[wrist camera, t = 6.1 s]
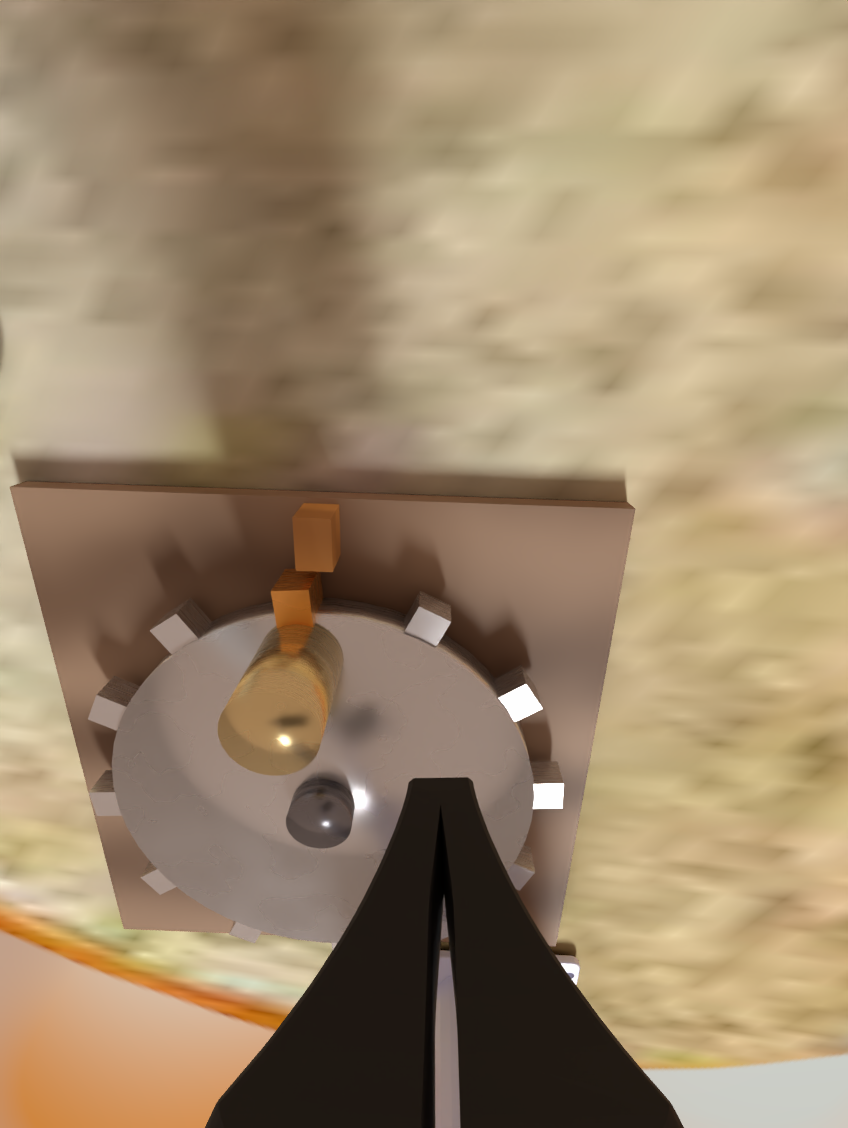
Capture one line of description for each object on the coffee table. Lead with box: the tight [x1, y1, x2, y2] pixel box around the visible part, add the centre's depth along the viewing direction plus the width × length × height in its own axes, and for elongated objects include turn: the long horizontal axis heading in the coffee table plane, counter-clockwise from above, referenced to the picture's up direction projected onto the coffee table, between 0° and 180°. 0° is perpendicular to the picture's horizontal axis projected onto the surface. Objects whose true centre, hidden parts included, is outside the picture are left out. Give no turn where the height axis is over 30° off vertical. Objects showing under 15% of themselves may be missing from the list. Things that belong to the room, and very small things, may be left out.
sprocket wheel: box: [88, 569, 564, 949], centre depth 20 cm, size 18×18×6 cm
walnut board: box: [10, 481, 635, 946], centre depth 22 cm, size 22×21×2 cm
